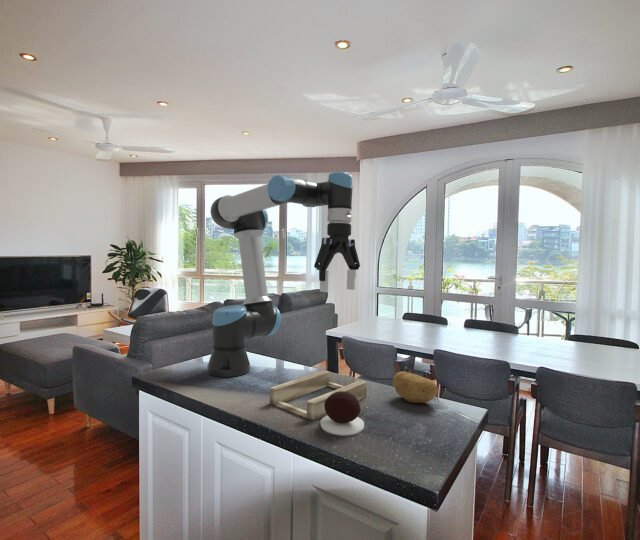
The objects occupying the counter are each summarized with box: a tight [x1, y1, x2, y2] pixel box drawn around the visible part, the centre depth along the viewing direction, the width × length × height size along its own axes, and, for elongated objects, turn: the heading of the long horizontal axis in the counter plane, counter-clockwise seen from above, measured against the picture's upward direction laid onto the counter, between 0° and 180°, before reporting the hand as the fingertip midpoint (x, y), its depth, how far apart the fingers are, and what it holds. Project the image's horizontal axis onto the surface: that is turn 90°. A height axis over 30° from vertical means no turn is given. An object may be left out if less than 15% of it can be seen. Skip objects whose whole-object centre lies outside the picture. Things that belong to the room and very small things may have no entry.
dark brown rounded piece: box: [324, 391, 362, 423], centre depth 98 cm, size 8×9×8 cm
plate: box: [320, 415, 365, 437], centre depth 98 cm, size 11×11×1 cm
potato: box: [392, 371, 439, 404], centre depth 116 cm, size 10×14×8 cm
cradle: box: [269, 369, 368, 422], centre depth 115 cm, size 17×24×4 cm
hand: (337, 290), depth 123 cm, fingers open, 13 cm apart
